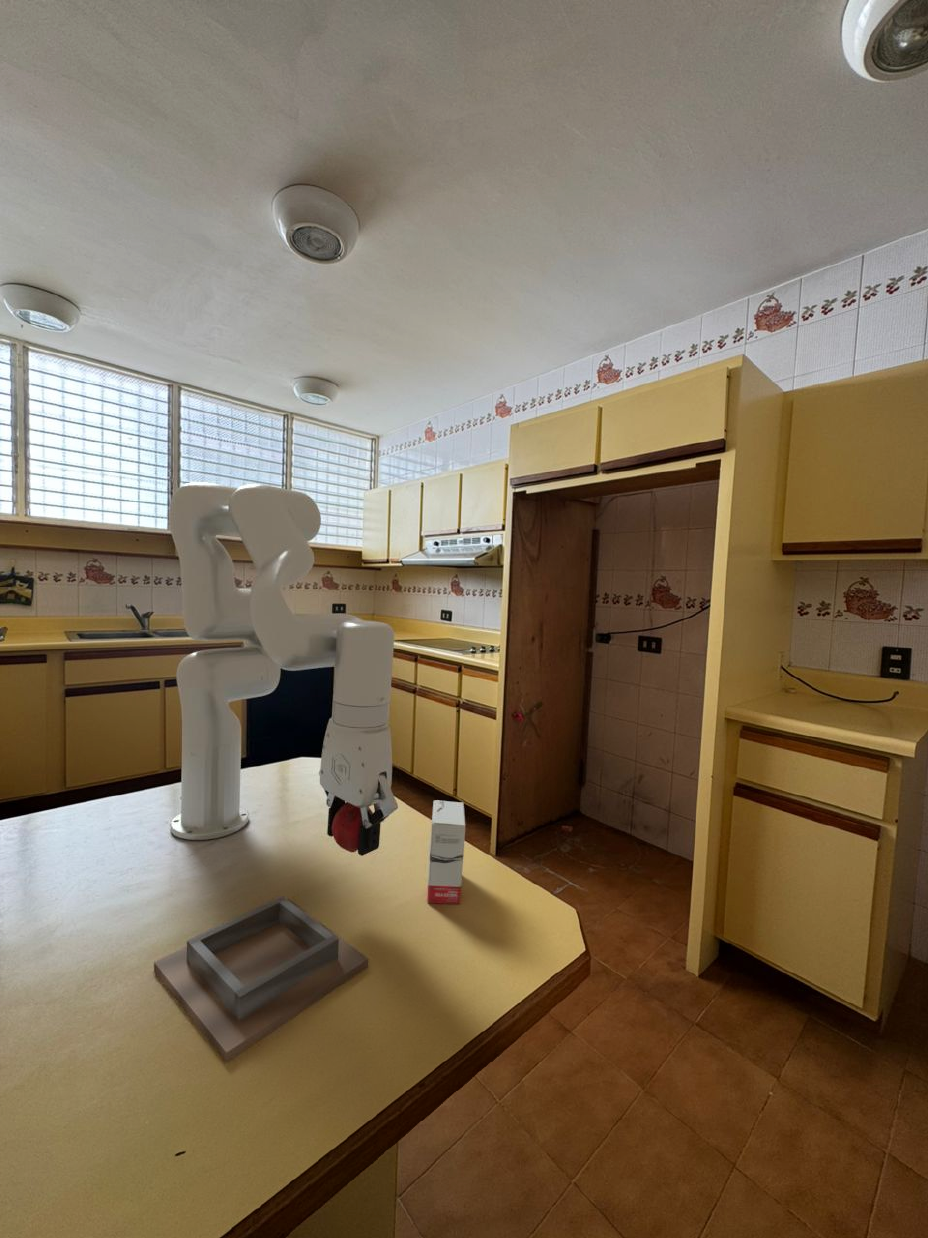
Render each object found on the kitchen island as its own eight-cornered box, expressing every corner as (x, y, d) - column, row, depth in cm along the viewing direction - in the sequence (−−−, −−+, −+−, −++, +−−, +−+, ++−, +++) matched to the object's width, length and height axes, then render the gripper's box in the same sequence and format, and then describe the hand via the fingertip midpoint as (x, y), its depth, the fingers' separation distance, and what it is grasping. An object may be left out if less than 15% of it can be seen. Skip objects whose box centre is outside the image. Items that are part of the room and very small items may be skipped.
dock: (153, 970, 60) (154, 941, 60) (287, 905, 73) (288, 880, 73) (226, 1062, 49) (227, 1027, 49) (368, 967, 62) (369, 938, 62)
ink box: (461, 905, 75) (465, 824, 75) (426, 904, 75) (430, 823, 74) (460, 872, 84) (463, 799, 83) (428, 871, 84) (432, 798, 83)
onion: (363, 867, 69) (367, 808, 69) (322, 859, 70) (326, 801, 70) (379, 845, 75) (383, 790, 74) (341, 838, 76) (344, 784, 75)
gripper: (299, 703, 73) (292, 827, 75) (382, 734, 63) (372, 880, 64) (343, 696, 79) (336, 812, 81) (426, 724, 68) (416, 857, 70)
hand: (352, 840), depth 72 cm, fingers closed on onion, 5 cm apart
